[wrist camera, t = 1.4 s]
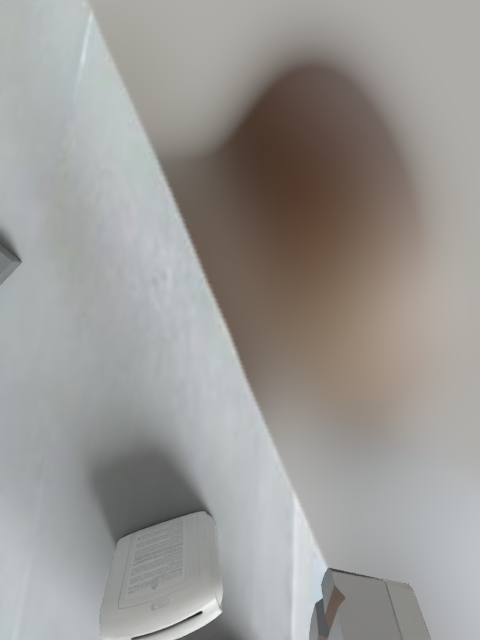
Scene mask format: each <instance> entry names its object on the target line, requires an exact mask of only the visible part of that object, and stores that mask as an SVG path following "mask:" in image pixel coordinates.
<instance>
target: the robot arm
mask: <svg viewBox="0 0 480 640" xmlns="http://www.w3.org/2000/svg"><path fill="white" fill-rule="evenodd" d="M321 586H322V595H323V598H322V599H321V600H320V601H318V602H317V603H315V607H314V611H313V614H312V618H311V625H310V633H309V640H431V638H430V635H429V632H428V629H427V627H426V624H425V621H424V618H423V616H422V613H421V610H420V608H419V605H418V602H417V599H416V596H415V594H414V591H413V589H412V587H411V586H410V585H409V584H406V583H401V582H397V581H392V580H387V579H379V578H374V577H370V576H365V575H360V574H356V573H351V572H346V571H342V570H337V569H332V568H328V569H327V571H326V572H325V574H324V578H323V581H322V584H321Z"/></svg>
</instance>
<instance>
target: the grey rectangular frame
mask: <svg viewBox="0 0 480 640" xmlns="http://www.w3.org/2000/svg"><path fill="white" fill-rule="evenodd" d="M21 263H22V262H21V261H20V260H19V259H18V258H17V257H16V256H14V255H13V254H12V253H11V252H10V251H9V250H8V249H6V248H5V247H4V246H3V245H2V244H1V243H0V285H1V284H2V283H3V282H4V281H5V279H6V278H7V277H8V276H9V275H10V274H11V273H12V272H13V271H14V270H15V269H16V268H17V267H18V266H19V265H20V264H21Z"/></svg>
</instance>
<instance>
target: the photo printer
mask: <svg viewBox="0 0 480 640" xmlns="http://www.w3.org/2000/svg"><path fill="white" fill-rule="evenodd" d="M222 596H223V586H222V577H221V568H220V558H219V549H218V540H217V531H216V524H215V522H214V520H213V518H212V517H211V516H210V515H208V514H206V512H205V511H201V512H195V513H191V514H188V515H184V516H181V517H178V518H175V519H172V520H169V521H166V522H163V523H160V524H157V525H154V526H151V527H148V528H145V529H142V530H139V531H137V532H134V533H132V534H129V535H127V536H125V537H123V538H121V539H120V540H119V541H118V542H117V545H116V549H115V553H114V557H113V561H112V565H111V569H110V573H109V577H108V581H107V585H106V589H105V593H104V597H103V601H102V605H101V609H100V632H101V638H102V640H176V639H178V638H180V637H183V636H185V635H187V634H189V633H191V632H193V631H195V630H197V629H199V628H201V627H202V626H204V625H206V624H207V623H209V622H210V621H212V620H213V619H214V618H216V617H217V616H218V615H219V614H221V613H222Z"/></svg>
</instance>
